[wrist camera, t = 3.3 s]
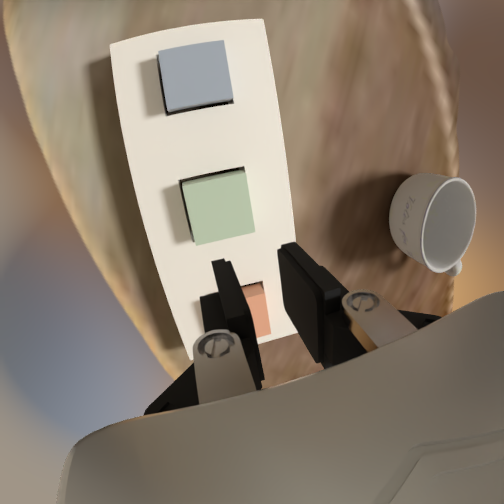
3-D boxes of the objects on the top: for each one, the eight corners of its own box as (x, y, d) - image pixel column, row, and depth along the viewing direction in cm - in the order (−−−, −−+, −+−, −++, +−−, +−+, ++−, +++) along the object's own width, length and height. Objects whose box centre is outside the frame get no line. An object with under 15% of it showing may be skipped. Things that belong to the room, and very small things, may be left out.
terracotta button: (259, 282, 29) (265, 293, 27) (266, 322, 31) (271, 333, 29) (209, 295, 28) (211, 306, 26) (220, 334, 30) (223, 346, 28)
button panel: (254, 29, 21) (263, 18, 19) (294, 316, 35) (303, 330, 32) (116, 53, 20) (109, 44, 17) (188, 343, 33) (190, 360, 30)
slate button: (220, 47, 19) (223, 40, 18) (229, 100, 21) (233, 97, 20) (159, 57, 19) (158, 51, 17) (168, 112, 21) (167, 110, 19)
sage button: (241, 169, 24) (245, 172, 22) (250, 224, 26) (255, 232, 24) (182, 182, 23) (182, 186, 21) (194, 237, 25) (195, 245, 24)
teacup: (367, 185, 30) (415, 203, 23) (428, 154, 31) (476, 165, 24) (389, 279, 36) (426, 309, 29) (441, 243, 37) (479, 265, 30)
